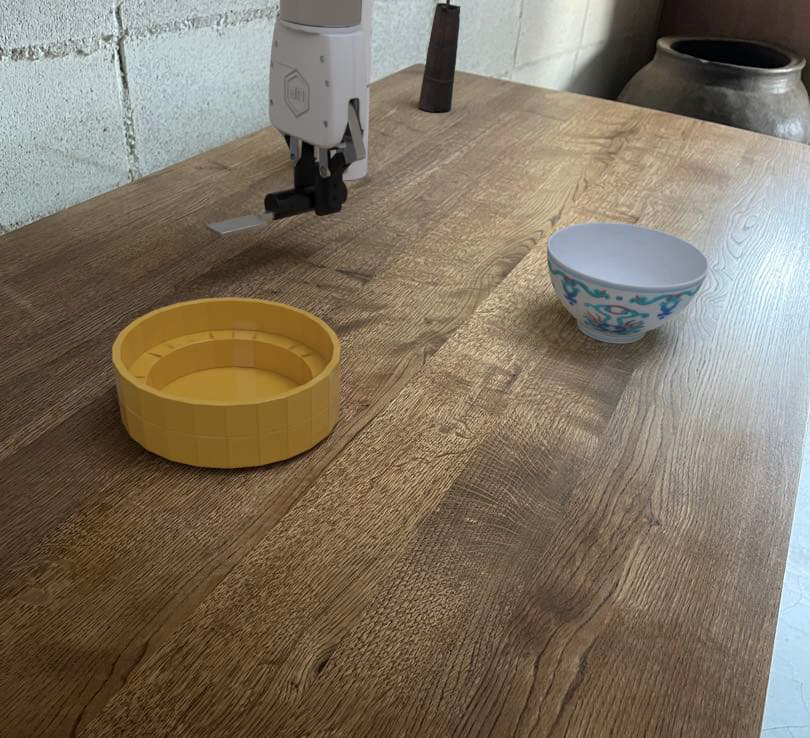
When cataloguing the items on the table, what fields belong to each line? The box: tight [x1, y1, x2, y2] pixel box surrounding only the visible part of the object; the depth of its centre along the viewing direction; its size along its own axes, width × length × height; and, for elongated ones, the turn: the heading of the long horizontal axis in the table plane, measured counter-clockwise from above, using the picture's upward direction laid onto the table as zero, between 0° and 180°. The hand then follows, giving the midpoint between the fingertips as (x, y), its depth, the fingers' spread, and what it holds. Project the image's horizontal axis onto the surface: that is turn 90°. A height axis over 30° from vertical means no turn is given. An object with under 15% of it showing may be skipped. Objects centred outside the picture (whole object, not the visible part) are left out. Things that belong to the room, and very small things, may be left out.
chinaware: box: [546, 221, 710, 345], centre depth 88 cm, size 15×15×8 cm
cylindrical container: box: [315, 0, 374, 181], centre depth 113 cm, size 7×7×25 cm
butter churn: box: [418, 0, 461, 113], centre depth 138 cm, size 9×10×28 cm
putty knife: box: [205, 181, 349, 239], centre depth 92 cm, size 16×3×3 cm, turn 134°
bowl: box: [111, 296, 342, 469], centre depth 72 cm, size 17×17×6 cm
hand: (317, 206), depth 96 cm, fingers closed on putty knife, 2 cm apart
